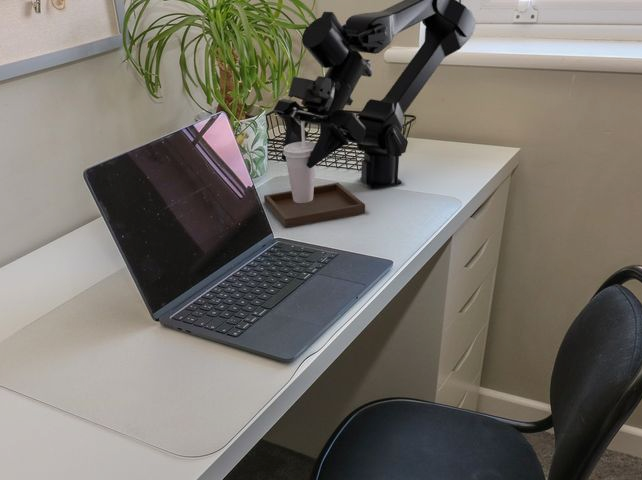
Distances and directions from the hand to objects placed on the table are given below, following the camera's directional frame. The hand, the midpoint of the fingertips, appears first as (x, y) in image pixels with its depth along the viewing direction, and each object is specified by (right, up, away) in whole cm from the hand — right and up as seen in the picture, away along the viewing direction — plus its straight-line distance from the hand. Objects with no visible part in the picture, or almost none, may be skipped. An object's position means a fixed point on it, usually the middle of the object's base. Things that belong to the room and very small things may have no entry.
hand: (295, 163), depth 124 cm
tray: (+4, -6, +8) cm, 11 cm away
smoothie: (+2, -5, +5) cm, 7 cm away
